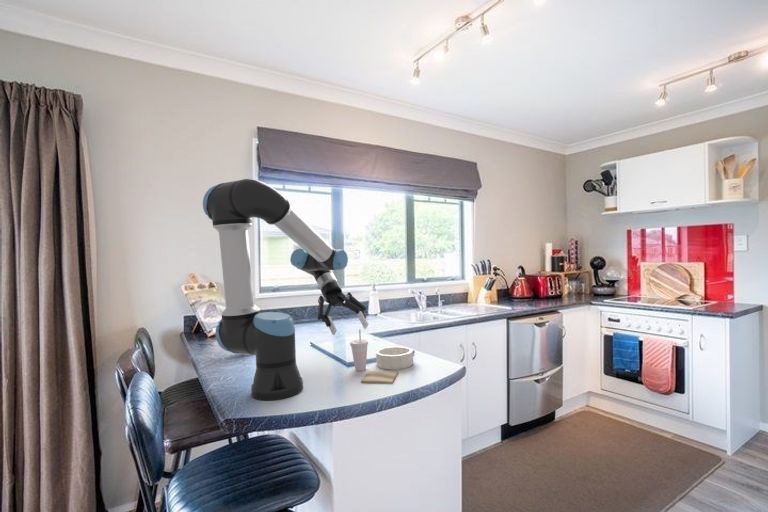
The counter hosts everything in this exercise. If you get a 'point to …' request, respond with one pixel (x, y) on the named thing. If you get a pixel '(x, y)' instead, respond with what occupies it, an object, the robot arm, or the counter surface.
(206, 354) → the counter surface
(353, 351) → the smoothie
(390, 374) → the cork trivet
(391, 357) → the bowl
